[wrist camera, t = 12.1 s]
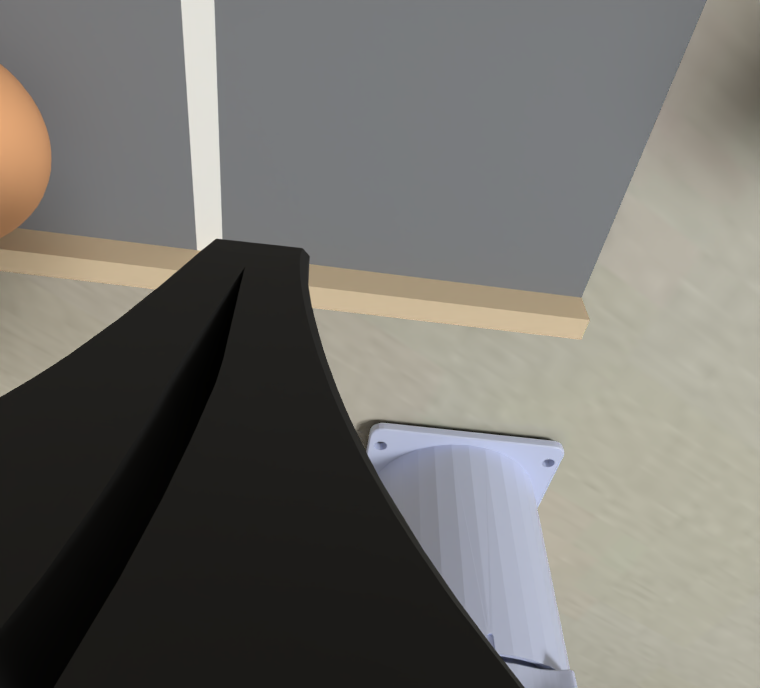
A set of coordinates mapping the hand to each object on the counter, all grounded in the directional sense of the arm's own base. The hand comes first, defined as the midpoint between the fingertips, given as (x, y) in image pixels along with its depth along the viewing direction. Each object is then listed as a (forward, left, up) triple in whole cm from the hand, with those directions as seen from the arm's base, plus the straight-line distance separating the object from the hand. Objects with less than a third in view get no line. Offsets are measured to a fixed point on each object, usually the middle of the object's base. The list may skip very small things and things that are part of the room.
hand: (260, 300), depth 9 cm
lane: (-1, +2, -10) cm, 10 cm away
